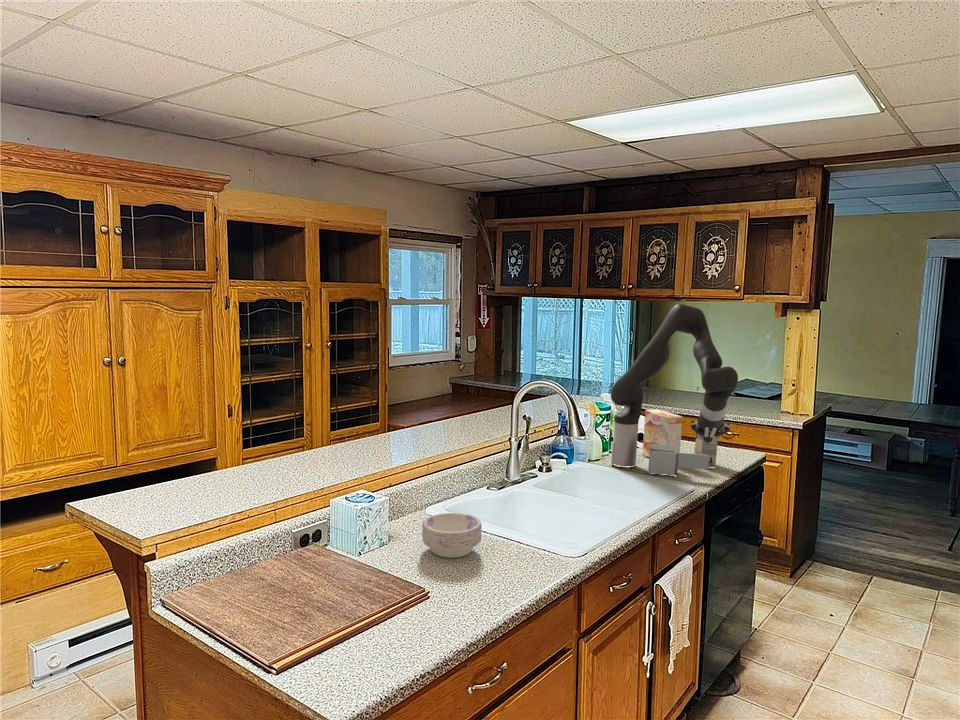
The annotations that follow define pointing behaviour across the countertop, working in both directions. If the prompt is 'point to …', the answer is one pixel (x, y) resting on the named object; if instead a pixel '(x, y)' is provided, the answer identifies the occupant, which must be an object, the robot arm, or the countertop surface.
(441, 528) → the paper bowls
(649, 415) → the coffeecake box
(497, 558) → the countertop surface
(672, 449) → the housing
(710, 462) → the coffee box
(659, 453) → the door
